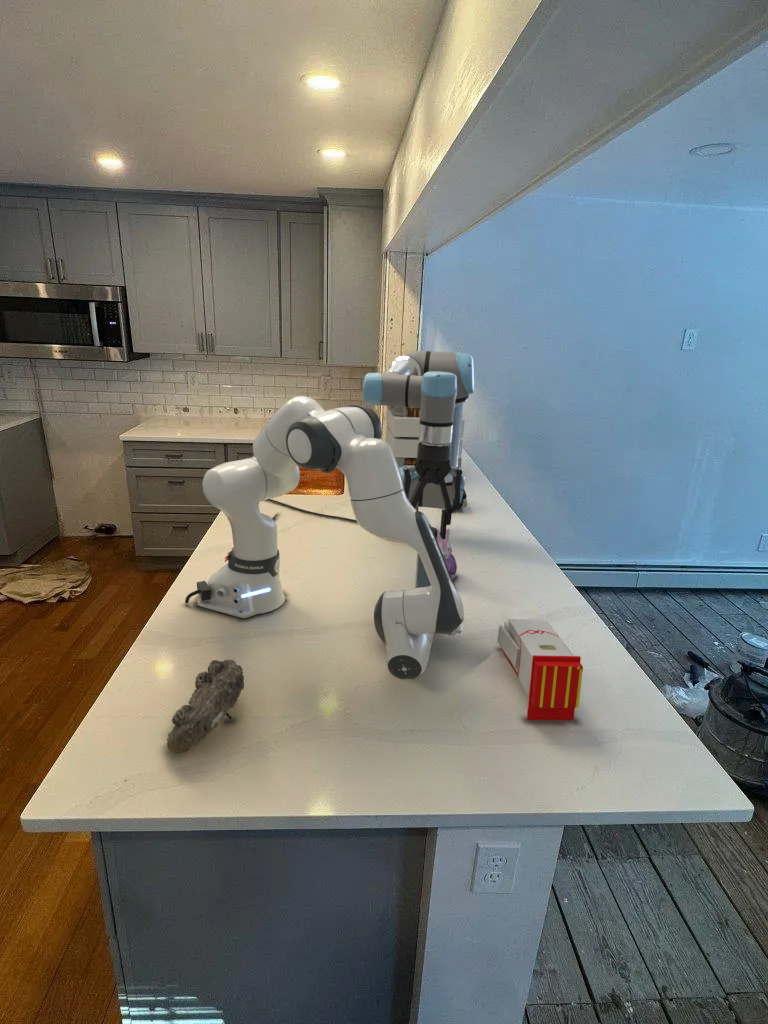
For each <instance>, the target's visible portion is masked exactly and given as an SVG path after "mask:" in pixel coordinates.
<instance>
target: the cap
mask: <svg viewBox="0 0 768 1024" xmlns="http://www.w3.org/2000/svg"><path fill="white" fill-rule="evenodd" d="M431 527H432V529H433V532H434V534H435V536H436V539H437V530H438V529H437V528H436V527H434V526H431Z"/></svg>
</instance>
